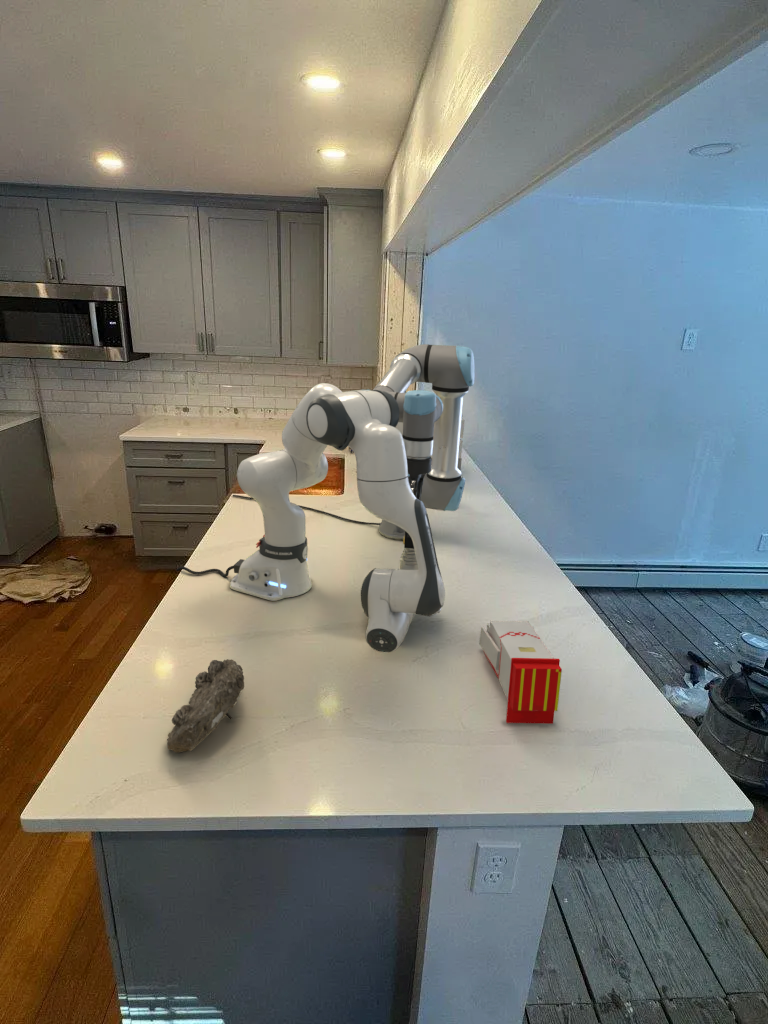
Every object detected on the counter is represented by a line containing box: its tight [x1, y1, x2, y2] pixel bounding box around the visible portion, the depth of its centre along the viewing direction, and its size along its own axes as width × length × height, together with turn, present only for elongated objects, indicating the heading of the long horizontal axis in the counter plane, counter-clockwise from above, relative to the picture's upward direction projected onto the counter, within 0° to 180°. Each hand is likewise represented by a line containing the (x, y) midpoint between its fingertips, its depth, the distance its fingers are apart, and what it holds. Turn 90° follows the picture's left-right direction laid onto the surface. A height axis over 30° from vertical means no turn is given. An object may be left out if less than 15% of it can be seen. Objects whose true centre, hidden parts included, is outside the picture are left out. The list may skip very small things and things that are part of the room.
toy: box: [478, 620, 563, 725], centre depth 121 cm, size 12×13×30 cm
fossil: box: [166, 658, 245, 754], centre depth 106 cm, size 22×10×15 cm
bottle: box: [398, 548, 419, 570], centre depth 149 cm, size 5×5×19 cm
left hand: (408, 582), depth 151 cm, fingers closed on bottle, 5 cm apart
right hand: (410, 543), depth 146 cm, fingers open, 4 cm apart
